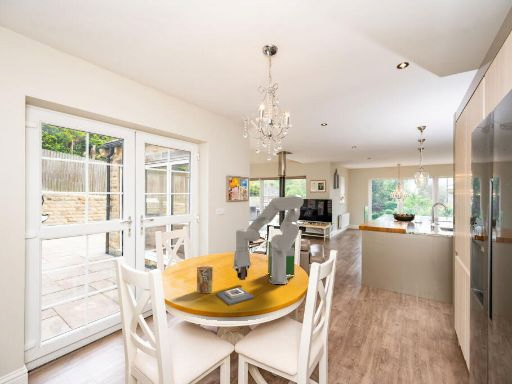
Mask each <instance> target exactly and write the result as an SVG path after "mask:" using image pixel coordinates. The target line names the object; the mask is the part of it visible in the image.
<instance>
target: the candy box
mask: <svg viewBox="0 0 512 384" xmlns="http://www.w3.org/2000/svg"><path fill="white" fill-rule="evenodd" d="M213 276H214V265H212V264H211V265H210V264H209V265H205V264H204V265H202V264H201V265H198V266H197V268H196V294H212V292H213V286H214V285H213V283H214V281H213V278H214V277H213Z"/></svg>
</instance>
